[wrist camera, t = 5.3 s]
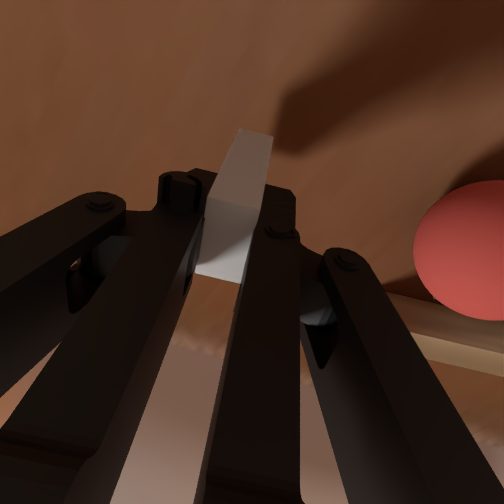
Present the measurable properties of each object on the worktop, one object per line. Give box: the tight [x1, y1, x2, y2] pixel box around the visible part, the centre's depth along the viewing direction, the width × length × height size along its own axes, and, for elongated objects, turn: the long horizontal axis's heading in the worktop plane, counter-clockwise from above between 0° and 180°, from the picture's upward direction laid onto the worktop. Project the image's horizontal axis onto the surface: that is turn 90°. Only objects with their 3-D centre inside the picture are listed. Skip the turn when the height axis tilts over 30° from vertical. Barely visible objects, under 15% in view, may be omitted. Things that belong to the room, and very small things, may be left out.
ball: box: [413, 180, 504, 321], centre depth 16 cm, size 6×6×6 cm
